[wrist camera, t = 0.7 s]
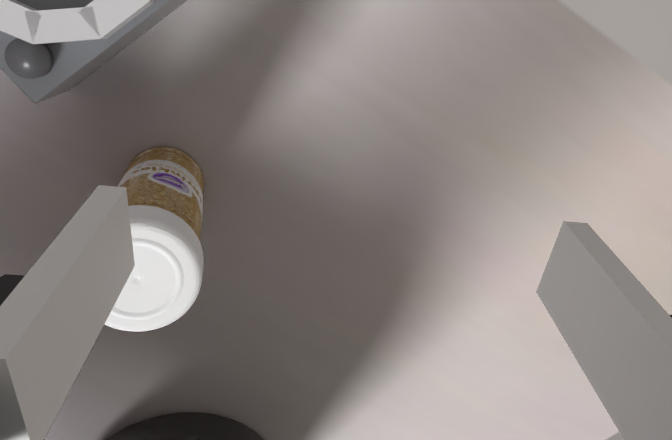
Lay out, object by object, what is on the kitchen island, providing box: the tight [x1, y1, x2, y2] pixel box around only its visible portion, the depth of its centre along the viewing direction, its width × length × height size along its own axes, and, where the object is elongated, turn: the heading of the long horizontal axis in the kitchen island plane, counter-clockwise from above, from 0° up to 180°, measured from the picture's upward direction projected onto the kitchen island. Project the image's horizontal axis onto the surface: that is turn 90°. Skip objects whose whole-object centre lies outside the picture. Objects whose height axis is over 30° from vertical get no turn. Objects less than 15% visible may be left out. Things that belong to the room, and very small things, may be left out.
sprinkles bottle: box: [105, 147, 204, 332], centre depth 24 cm, size 5×5×13 cm
